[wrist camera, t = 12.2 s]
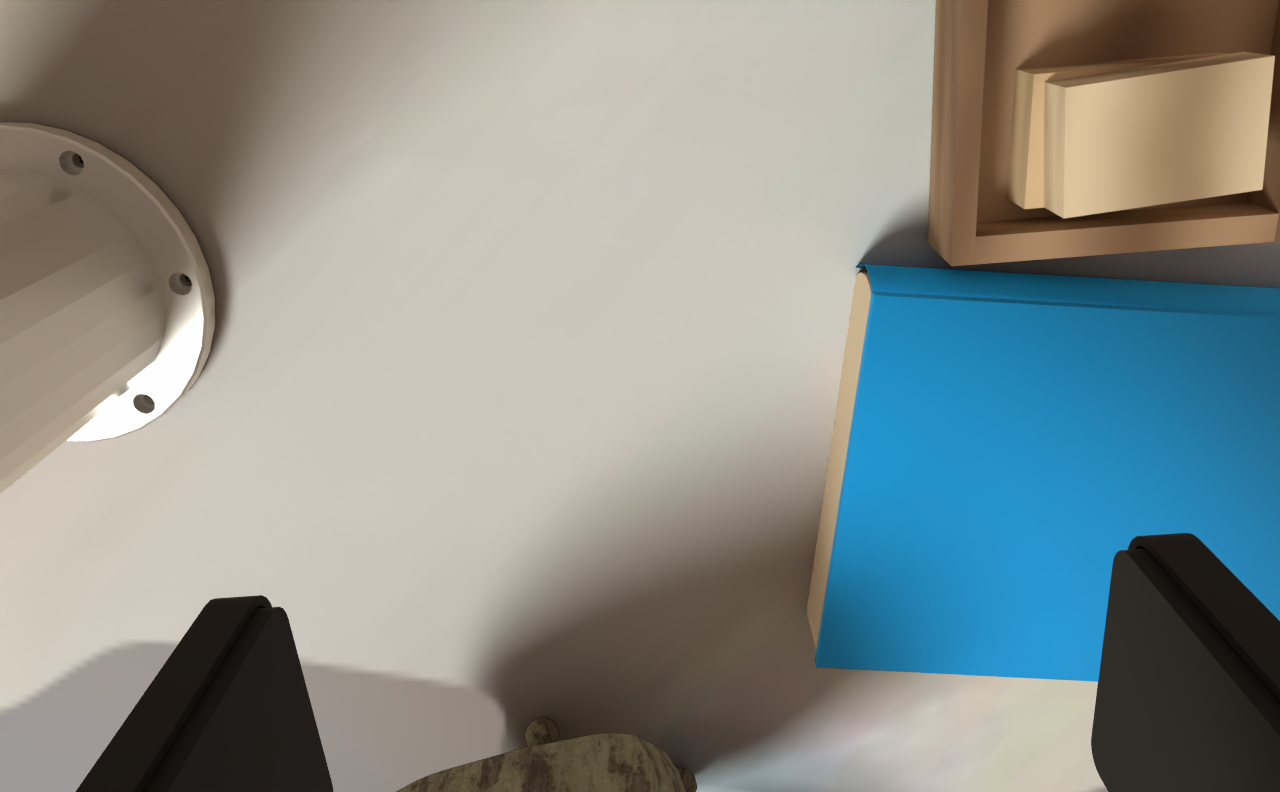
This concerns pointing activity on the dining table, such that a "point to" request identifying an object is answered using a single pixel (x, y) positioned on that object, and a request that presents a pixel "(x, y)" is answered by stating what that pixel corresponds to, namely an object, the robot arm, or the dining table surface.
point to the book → (1035, 461)
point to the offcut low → (1030, 121)
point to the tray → (1067, 35)
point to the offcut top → (1156, 134)
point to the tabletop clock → (566, 767)
